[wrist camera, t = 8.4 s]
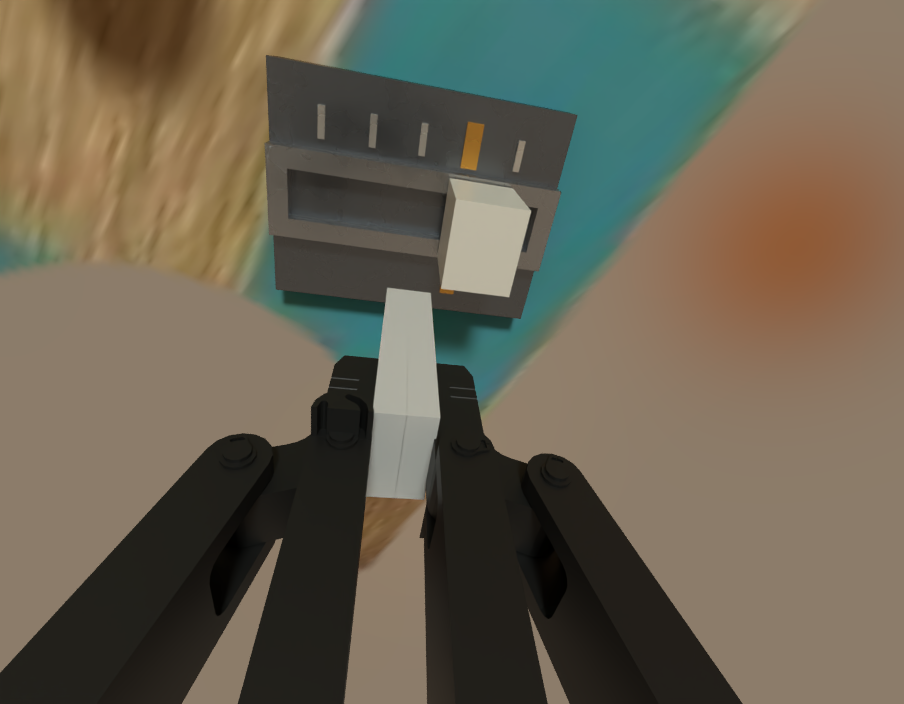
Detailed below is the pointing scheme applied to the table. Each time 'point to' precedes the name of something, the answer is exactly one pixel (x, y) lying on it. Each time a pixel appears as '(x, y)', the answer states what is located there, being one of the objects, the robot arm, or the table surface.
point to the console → (396, 180)
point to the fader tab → (481, 238)
